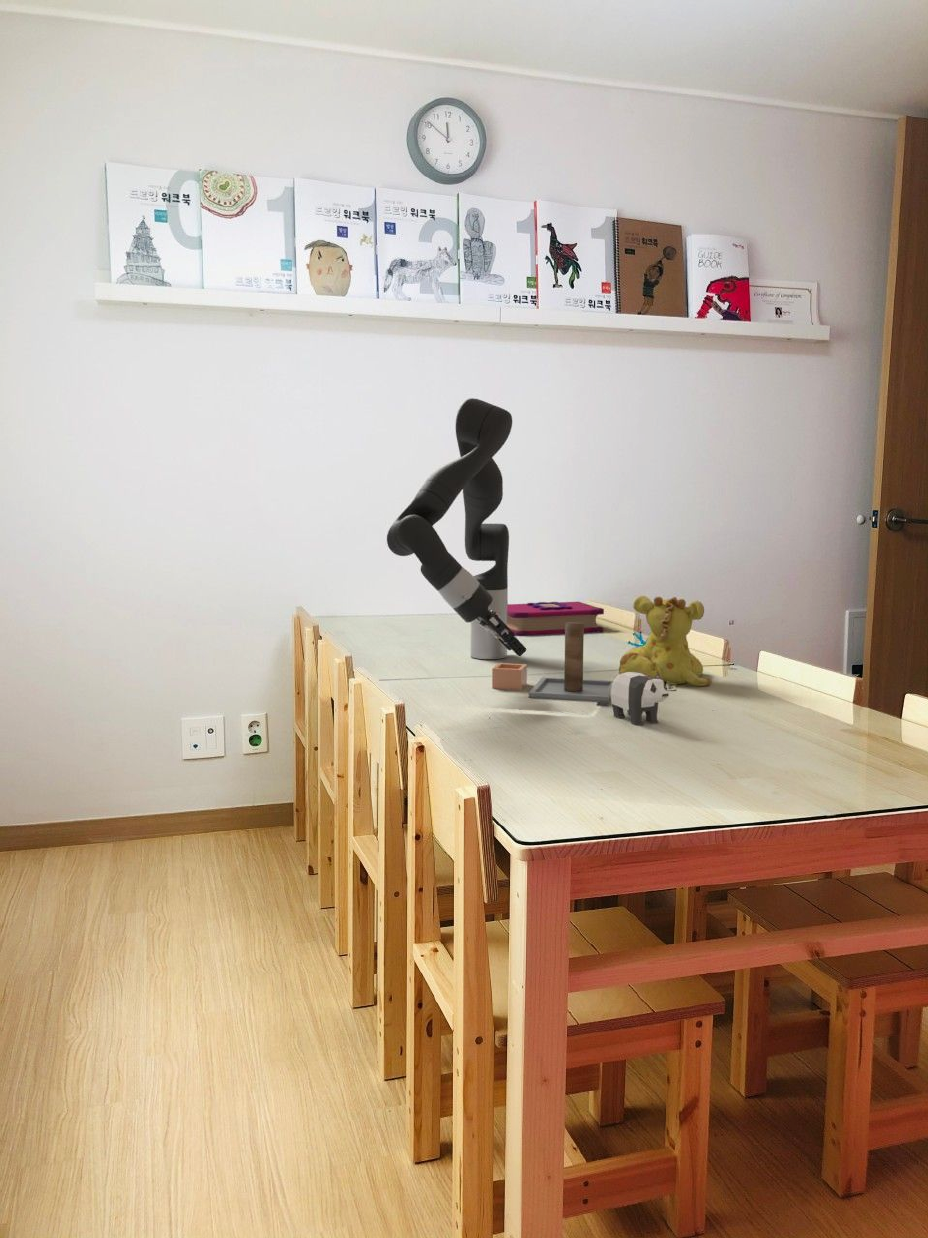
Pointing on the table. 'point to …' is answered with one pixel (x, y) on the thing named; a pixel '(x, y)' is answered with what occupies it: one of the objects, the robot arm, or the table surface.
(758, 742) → the table surface
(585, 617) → the book
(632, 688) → the giant panda
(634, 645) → the stick construction toy
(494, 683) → the pencil cup
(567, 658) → the dowel
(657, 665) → the giraffe plush
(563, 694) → the tray
